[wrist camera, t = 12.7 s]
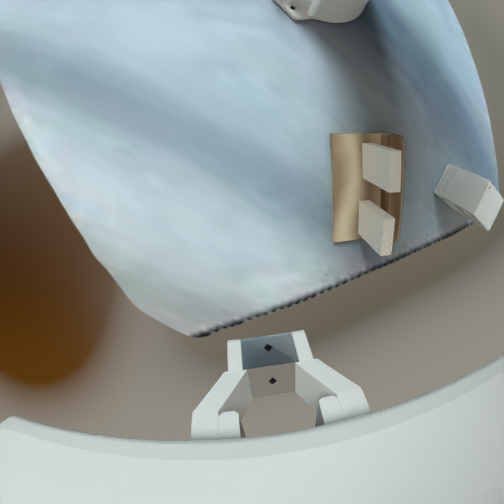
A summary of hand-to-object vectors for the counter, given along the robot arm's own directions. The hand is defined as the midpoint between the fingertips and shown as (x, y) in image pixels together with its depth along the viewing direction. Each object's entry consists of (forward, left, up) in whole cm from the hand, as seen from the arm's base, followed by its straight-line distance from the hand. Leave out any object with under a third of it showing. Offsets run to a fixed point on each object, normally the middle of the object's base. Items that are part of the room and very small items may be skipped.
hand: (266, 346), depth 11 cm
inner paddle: (+15, +16, -35) cm, 41 cm away
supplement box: (+34, +27, -37) cm, 57 cm away
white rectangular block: (+22, +8, -35) cm, 42 cm away
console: (+18, +12, -37) cm, 43 cm away
